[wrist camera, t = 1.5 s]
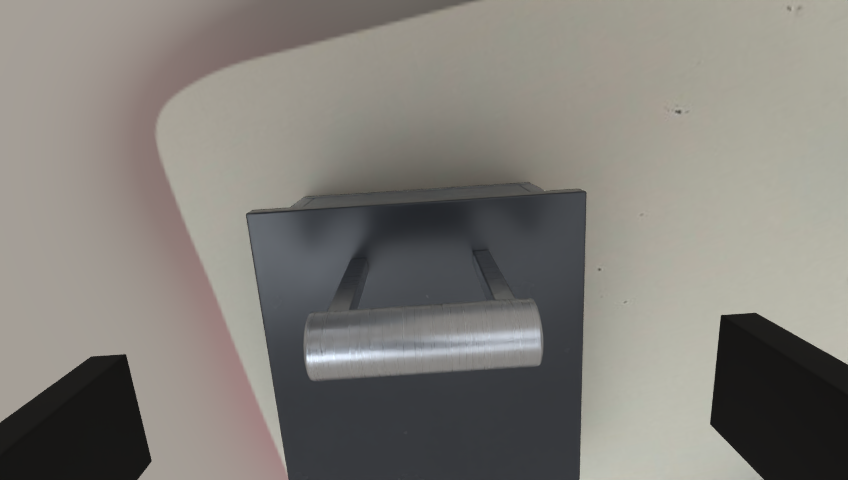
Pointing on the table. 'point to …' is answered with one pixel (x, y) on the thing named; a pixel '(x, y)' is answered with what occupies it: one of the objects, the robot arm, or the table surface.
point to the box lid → (426, 335)
